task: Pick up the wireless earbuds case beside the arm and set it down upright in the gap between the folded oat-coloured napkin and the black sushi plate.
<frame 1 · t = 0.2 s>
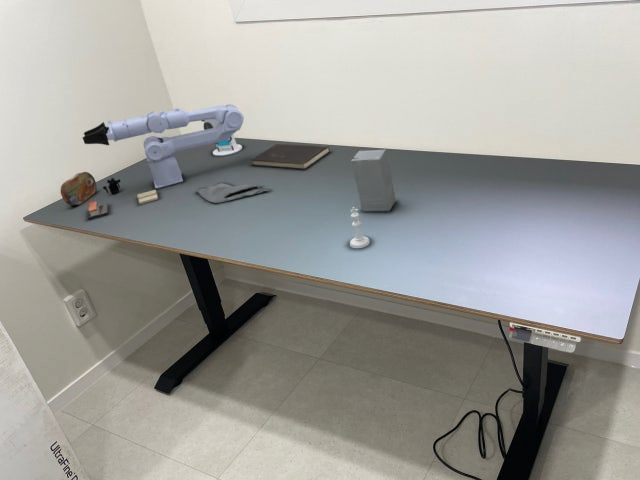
hand: (84, 138, 183), 21 cm above the table, tool horizontal, fingers open, 7 cm apart
cosmetic box: (378, 208, 158), on the table
tin: (83, 200, 196), on the table
chess piece: (360, 244, 142), on the table
napkin: (148, 198, 188), on the table
sushi plate: (98, 212, 184), on the table
panda figurine: (226, 150, 220), on the table
hardcover book: (291, 159, 201), on the table
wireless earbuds: (116, 193, 198), on the table
cloth: (228, 194, 182), on the table
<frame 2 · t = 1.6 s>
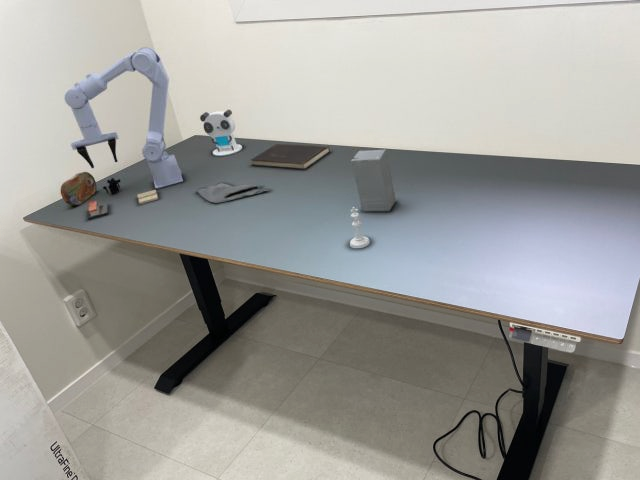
hand: (104, 164, 192), 10 cm above the table, tool pointing down, fingers open, 7 cm apart
nothing on the table moved.
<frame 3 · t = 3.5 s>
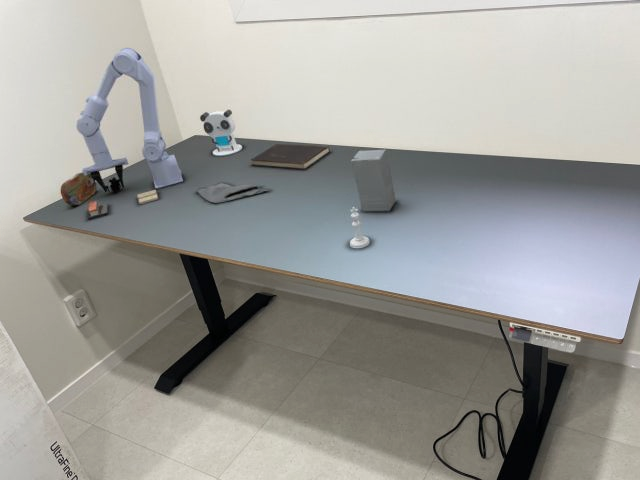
hand: (114, 188, 197), 1 cm above the table, tool pointing down, fingers closed on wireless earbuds, 5 cm apart
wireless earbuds: (118, 192, 198), on the table, touching gripper
everything else where it was.
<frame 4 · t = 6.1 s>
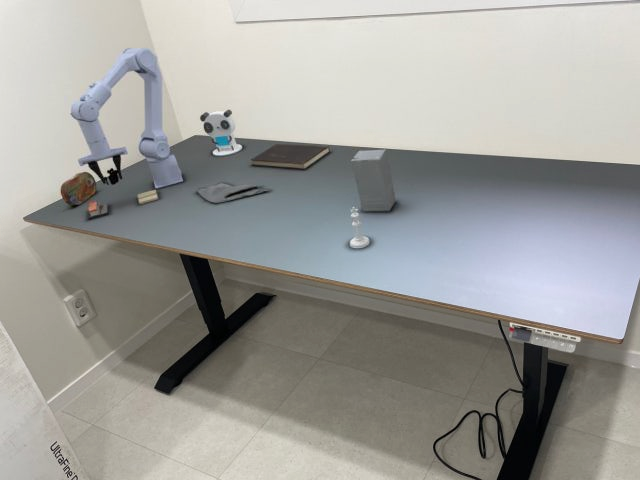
hand: (113, 180, 183), 8 cm above the table, tool pointing down, fingers closed on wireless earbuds, 4 cm apart
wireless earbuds: (116, 184, 185), point 7 cm above the table, touching gripper
everything else where it was.
when the fingers open (1 cm above the table, at t = 8.7 s): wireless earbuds stays where it is, on the table.
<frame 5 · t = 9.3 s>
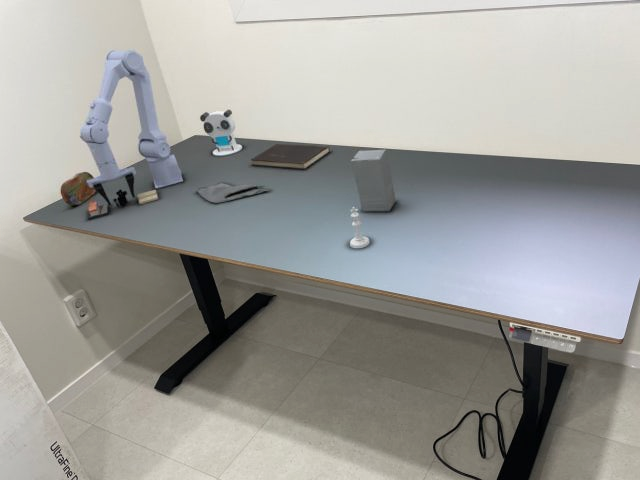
hand: (121, 200, 185), 2 cm above the table, tool pointing down, fingers open, 7 cm apart
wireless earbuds: (125, 205, 187), on the table
everything else where it was.
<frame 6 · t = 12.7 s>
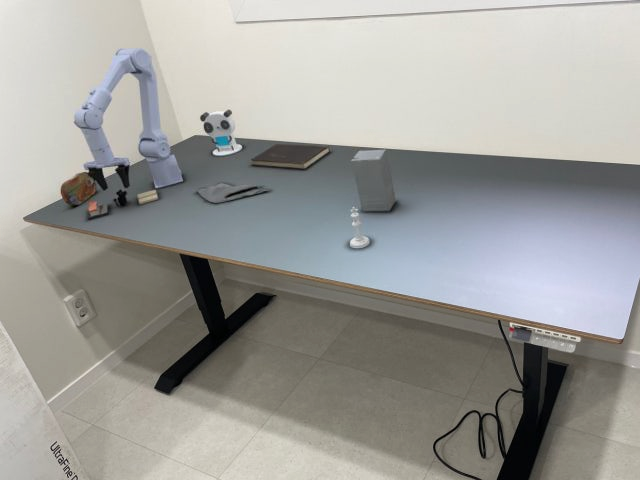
hand: (116, 188, 183), 6 cm above the table, tool pointing down, fingers open, 7 cm apart
nothing on the table moved.
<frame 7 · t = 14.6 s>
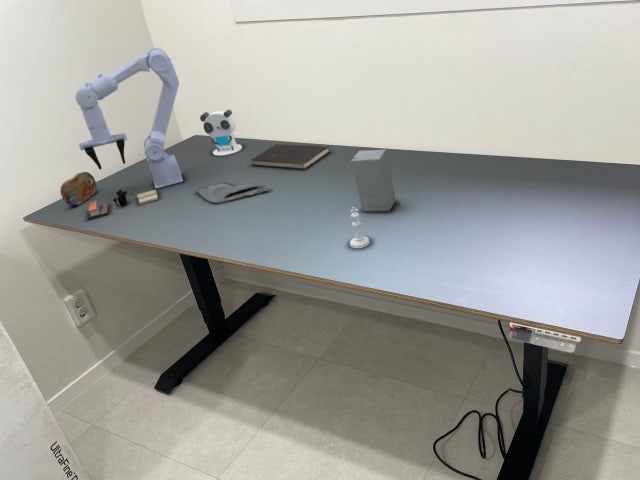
hand: (112, 165, 190), 10 cm above the table, tool pointing down, fingers open, 7 cm apart
nothing on the table moved.
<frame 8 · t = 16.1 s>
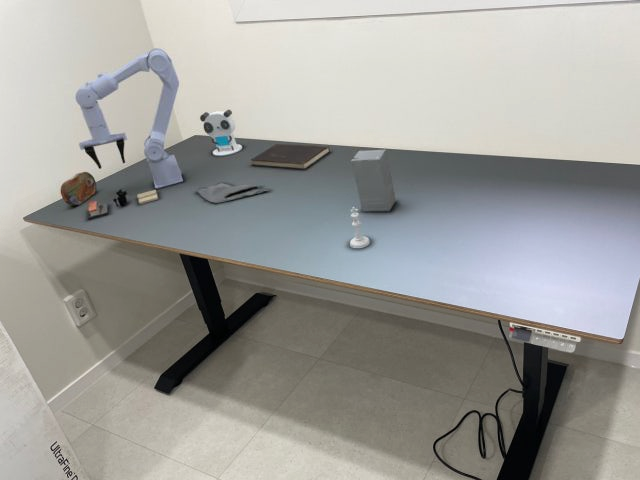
hand: (112, 165, 190), 10 cm above the table, tool pointing down, fingers open, 7 cm apart
nothing on the table moved.
at the end: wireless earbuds 0.8 cm from the target spot, on the table; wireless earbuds tilted 0°; the gripper is holding nothing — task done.
